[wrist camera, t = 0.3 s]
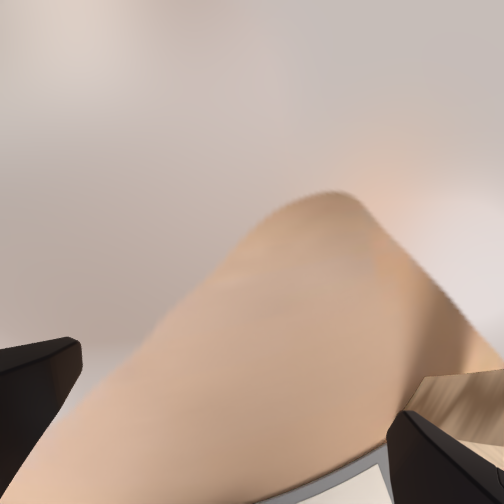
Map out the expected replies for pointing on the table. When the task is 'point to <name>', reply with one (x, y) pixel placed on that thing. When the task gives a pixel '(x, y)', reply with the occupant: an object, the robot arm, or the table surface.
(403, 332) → the table surface
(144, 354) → the table surface
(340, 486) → the mat
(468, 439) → the beech post
